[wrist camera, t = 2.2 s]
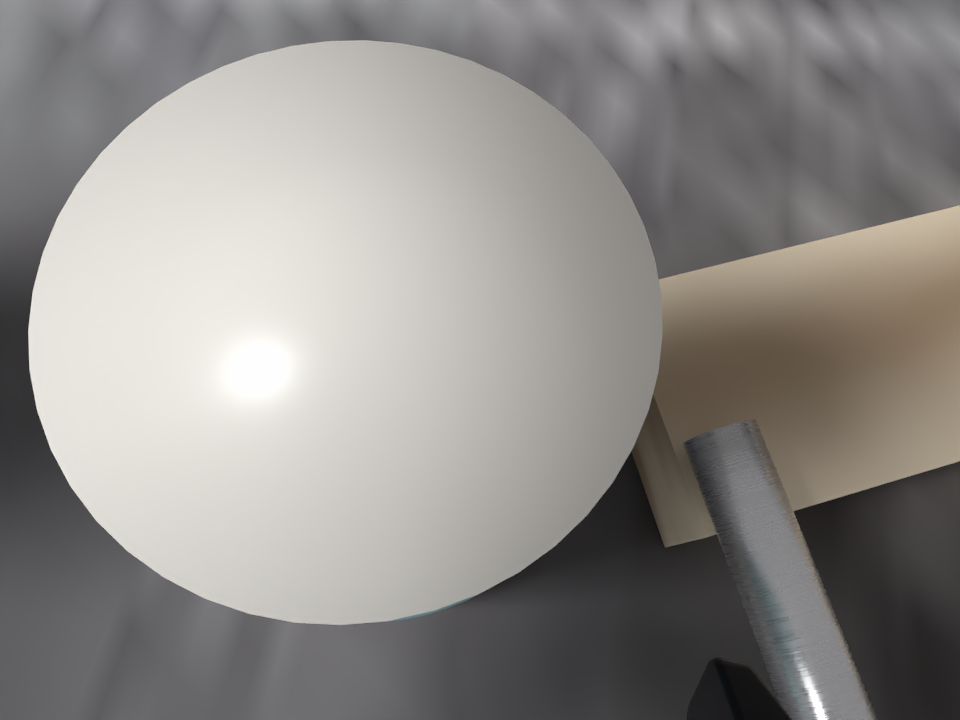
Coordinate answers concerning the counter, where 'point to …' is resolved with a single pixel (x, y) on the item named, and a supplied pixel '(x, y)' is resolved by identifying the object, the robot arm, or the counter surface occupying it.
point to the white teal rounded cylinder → (345, 332)
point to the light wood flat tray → (811, 366)
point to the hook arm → (776, 576)
